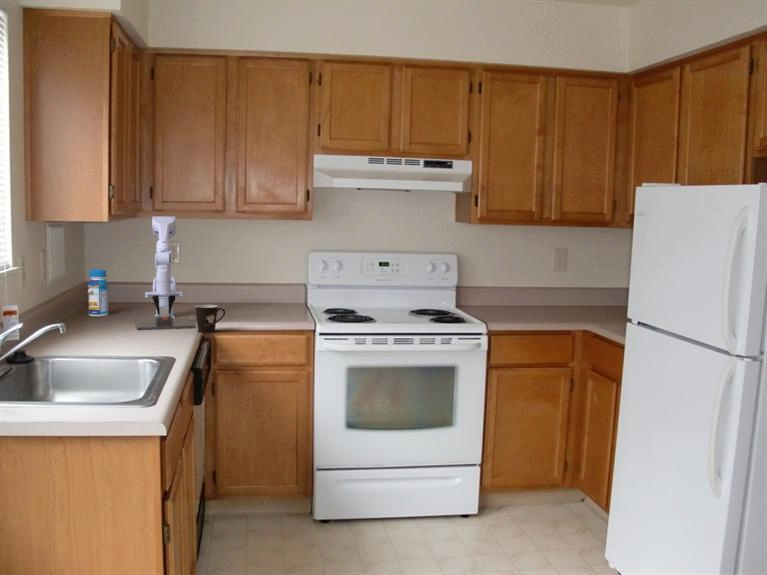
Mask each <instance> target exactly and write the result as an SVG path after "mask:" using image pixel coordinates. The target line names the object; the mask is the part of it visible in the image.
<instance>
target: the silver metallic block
mask: <svg viewBox="0 0 767 575" xmlns="http://www.w3.org/2000/svg"><path fill="white" fill-rule="evenodd" d="M159 311H160V315H159V317H169V307H168V306H159Z"/></svg>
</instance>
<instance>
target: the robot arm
mask: <svg viewBox="0 0 767 575" xmlns="http://www.w3.org/2000/svg"><path fill="white" fill-rule="evenodd" d="M151 218H152V219H151V221H152V222H151V224H152V226H151V228H152V233H153V236H154V237H156V238H157V239H158V240H157V241H156V245H155V246H156V249H155V251H156V252H155V254H154V264H155V271H156V274H155V275H156V276H155V277H154V278H153V280H152V291H145V292H144V298H152V300H153V303H154V306H155V309H156V311H155V313H156V314H154V315H153V316H154V317H155V318H154V319H156V316H159V315H160V311H159V306H168V307H169V315H171V316H172V318H176V316H175V314H174V303H175V301H176V297H180V298H181V297H183V291H181V290H180V291H177V279H176V278H175V277H174V276H173V275H172V264H173V262H172V261H173V258H172V257H173V255H172V250H171V249H172V244H171V239H172V238H173V237H175V236H176V233H177V232H176V231H177V218H176V216H175V215H173V216H167V215H166V216H164V215H163V216H159V215H158V216H156V215H153V216H152V217H151Z"/></svg>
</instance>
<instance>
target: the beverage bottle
mask: <svg viewBox="0 0 767 575" xmlns="http://www.w3.org/2000/svg"><path fill="white" fill-rule="evenodd" d="M106 277H107V270H106V269H100V268H99V269H96V268H95V269H90V270H89V278H90V280H89V281H88V284H87V287H88V290H87V295H88V316H90V317H105V316H108V315H109V289H108V286H109V284H108V282H107V280H106Z"/></svg>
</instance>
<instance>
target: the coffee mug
mask: <svg viewBox="0 0 767 575" xmlns="http://www.w3.org/2000/svg"><path fill="white" fill-rule="evenodd" d="M194 308H195V315H196V323H197V332H198V333H202V334H203V333H204V334H207V333H208V334H209V333H210V334H212V333H215V332H216V325H217V323H218V322H220V321H221V320H222V319H223V318H224V316H225V315H226V311H225V308H222V307H218V305H216V304H198V305H197V304H196V305H195V306H194ZM219 311H223V313H222V316H221V317H220V318H219V319H217V317H218V312H219Z"/></svg>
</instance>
